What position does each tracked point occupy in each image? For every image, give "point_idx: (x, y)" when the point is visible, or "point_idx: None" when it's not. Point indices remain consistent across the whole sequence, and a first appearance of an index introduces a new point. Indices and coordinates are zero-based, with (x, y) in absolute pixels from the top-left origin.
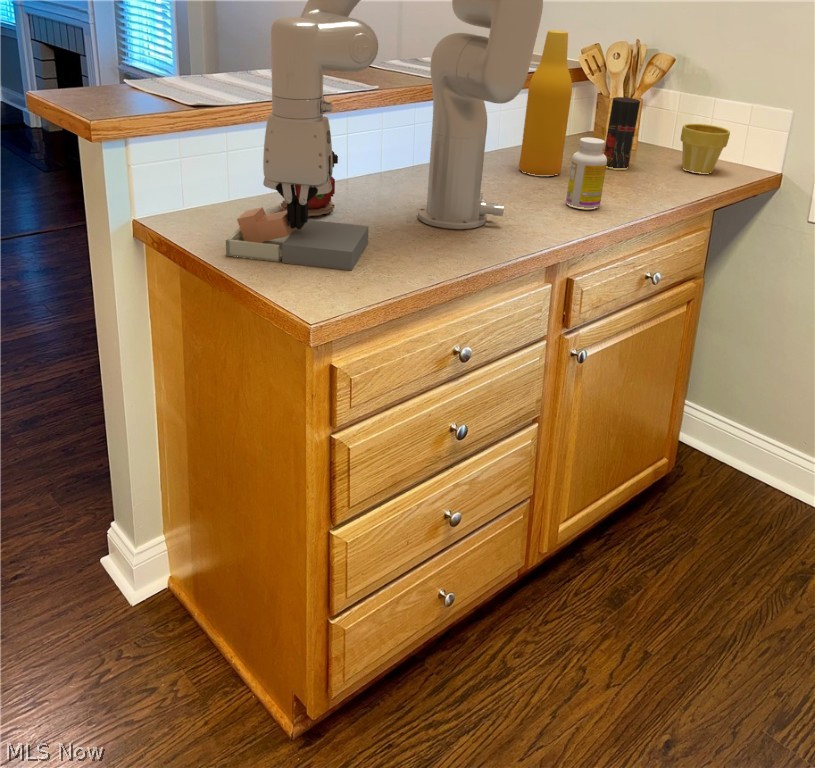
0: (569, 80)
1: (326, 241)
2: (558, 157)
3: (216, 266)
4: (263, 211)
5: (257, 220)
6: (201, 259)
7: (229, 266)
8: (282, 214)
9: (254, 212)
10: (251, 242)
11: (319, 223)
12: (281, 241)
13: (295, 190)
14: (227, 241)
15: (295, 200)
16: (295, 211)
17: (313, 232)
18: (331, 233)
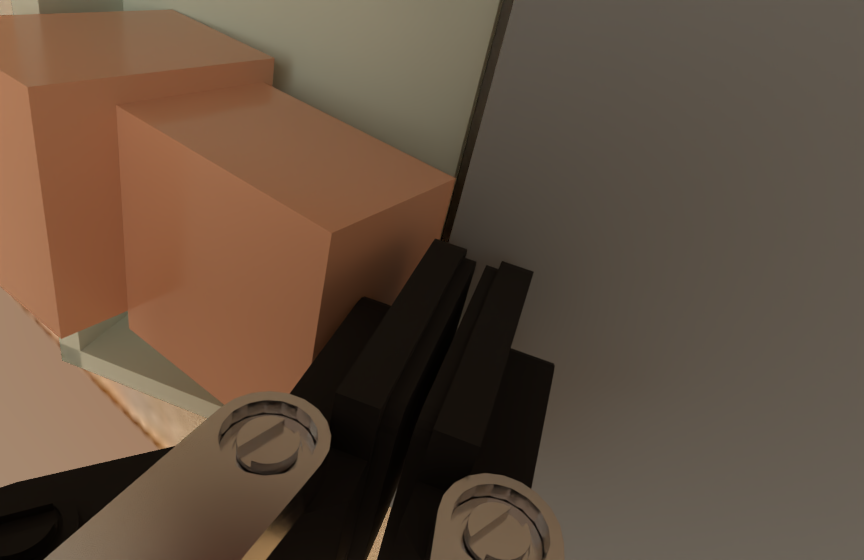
0: None
1: (701, 513)
2: None
3: (137, 413)
4: (75, 102)
5: (115, 286)
6: (48, 332)
7: (187, 420)
8: (281, 340)
9: (27, 230)
10: (200, 406)
11: (739, 36)
12: (376, 110)
13: (274, 520)
14: (75, 361)
15: (346, 541)
16: (394, 485)
17: (619, 321)
18: (800, 363)
